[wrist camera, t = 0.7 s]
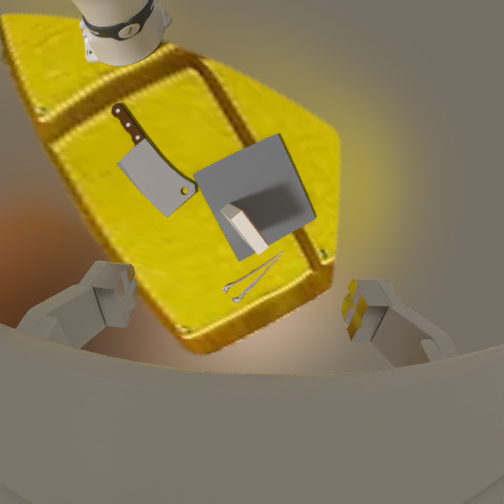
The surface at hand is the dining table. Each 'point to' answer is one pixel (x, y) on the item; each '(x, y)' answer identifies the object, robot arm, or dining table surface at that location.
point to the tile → (245, 228)
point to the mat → (256, 192)
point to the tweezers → (251, 283)
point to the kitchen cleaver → (151, 170)
